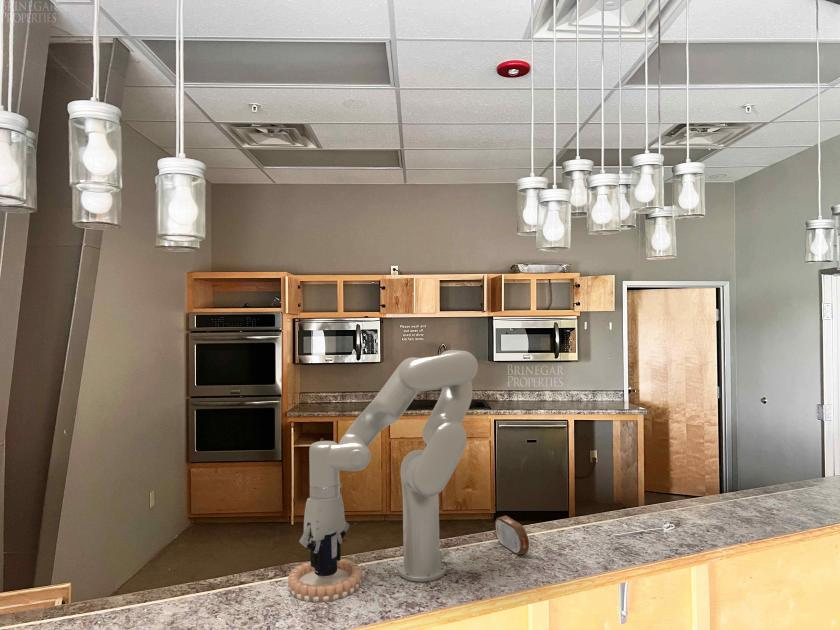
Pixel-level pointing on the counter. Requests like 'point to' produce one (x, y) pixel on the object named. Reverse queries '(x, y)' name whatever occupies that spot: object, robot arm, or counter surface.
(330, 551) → the beverage can
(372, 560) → the counter surface
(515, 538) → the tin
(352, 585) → the round dish
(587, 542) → the counter surface
